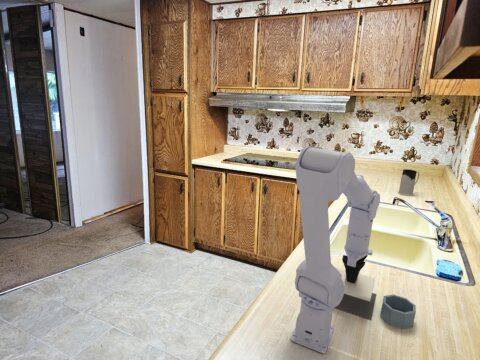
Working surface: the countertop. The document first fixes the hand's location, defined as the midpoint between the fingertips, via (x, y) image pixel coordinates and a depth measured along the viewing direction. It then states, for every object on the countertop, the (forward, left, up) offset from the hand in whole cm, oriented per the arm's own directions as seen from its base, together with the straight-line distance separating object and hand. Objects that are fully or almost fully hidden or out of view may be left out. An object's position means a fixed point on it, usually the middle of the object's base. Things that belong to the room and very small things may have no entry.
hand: (351, 279), depth 86 cm
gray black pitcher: (+136, -13, -7) cm, 137 cm away
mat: (0, 0, -7) cm, 7 cm away
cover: (0, 0, -2) cm, 2 cm away
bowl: (-2, -12, -7) cm, 14 cm away
